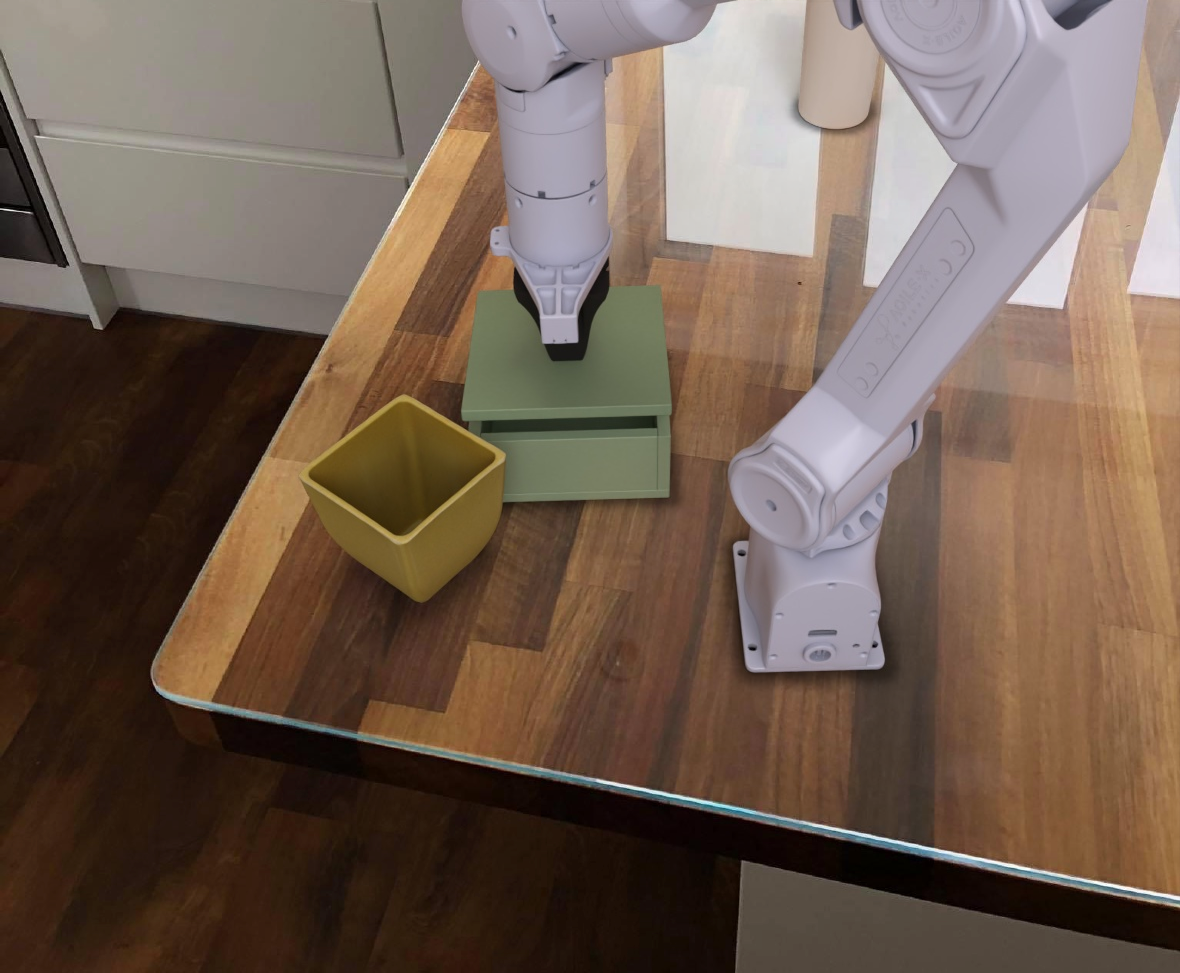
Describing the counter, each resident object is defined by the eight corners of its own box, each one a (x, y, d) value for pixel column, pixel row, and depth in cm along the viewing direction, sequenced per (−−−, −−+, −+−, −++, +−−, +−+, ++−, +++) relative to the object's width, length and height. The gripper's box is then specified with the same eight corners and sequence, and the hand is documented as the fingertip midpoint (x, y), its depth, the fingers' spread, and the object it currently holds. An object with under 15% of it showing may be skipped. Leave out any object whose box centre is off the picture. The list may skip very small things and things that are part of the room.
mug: (857, 138, 106) (876, 6, 98) (784, 121, 109) (796, -9, 100) (892, 82, 112) (913, -47, 103) (822, 67, 114) (837, -61, 106)
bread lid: (672, 415, 73) (672, 404, 73) (462, 421, 73) (460, 411, 73) (660, 294, 84) (660, 284, 84) (478, 300, 85) (477, 290, 84)
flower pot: (423, 487, 81) (402, 389, 74) (521, 550, 77) (509, 452, 71) (324, 570, 77) (293, 473, 70) (424, 641, 73) (401, 546, 66)
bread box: (669, 497, 80) (670, 436, 75) (476, 503, 80) (467, 442, 76) (660, 356, 89) (660, 294, 84) (487, 362, 89) (478, 300, 85)
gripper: (488, 100, 72) (508, 282, 82) (475, 253, 62) (499, 438, 73) (608, 96, 72) (613, 279, 82) (613, 249, 62) (618, 434, 72)
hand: (567, 353), depth 77 cm, fingers closed
